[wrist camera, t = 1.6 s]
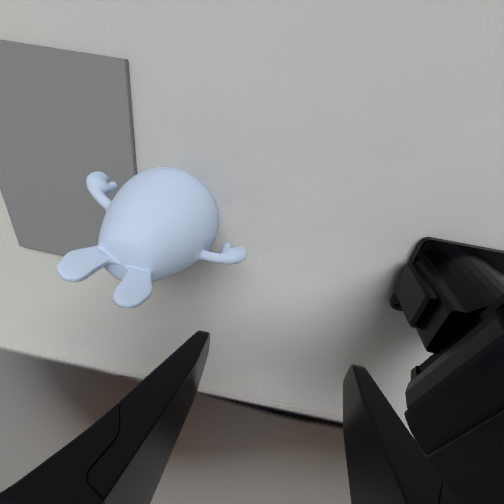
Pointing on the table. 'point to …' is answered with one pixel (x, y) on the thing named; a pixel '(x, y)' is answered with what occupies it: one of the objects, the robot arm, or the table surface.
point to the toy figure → (149, 232)
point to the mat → (61, 141)
